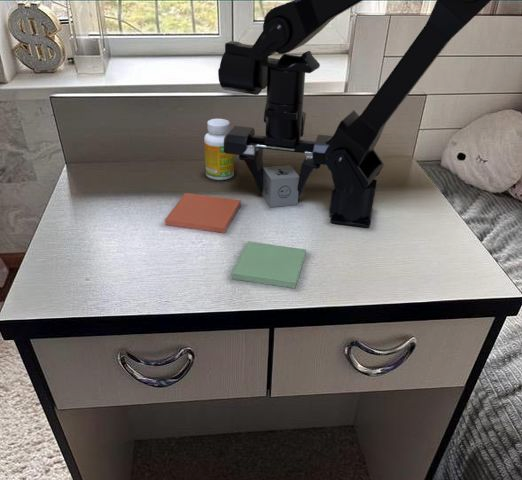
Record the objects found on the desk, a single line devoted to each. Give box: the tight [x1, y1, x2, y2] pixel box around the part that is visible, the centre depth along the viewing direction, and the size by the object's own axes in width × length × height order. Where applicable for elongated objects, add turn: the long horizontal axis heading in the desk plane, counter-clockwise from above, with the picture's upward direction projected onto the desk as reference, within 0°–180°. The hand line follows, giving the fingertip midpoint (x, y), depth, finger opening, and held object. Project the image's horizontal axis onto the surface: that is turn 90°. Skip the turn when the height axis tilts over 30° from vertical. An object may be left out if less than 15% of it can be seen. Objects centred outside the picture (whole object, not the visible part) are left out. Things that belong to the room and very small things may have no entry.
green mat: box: [231, 240, 307, 289], centre depth 76 cm, size 9×9×1 cm
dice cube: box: [261, 164, 300, 208], centre depth 90 cm, size 5×5×5 cm
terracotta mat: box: [164, 192, 242, 234], centre depth 87 cm, size 10×10×1 cm
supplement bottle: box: [203, 118, 235, 181], centre depth 96 cm, size 5×5×10 cm
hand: (280, 194), depth 91 cm, fingers closed on dice cube, 6 cm apart
